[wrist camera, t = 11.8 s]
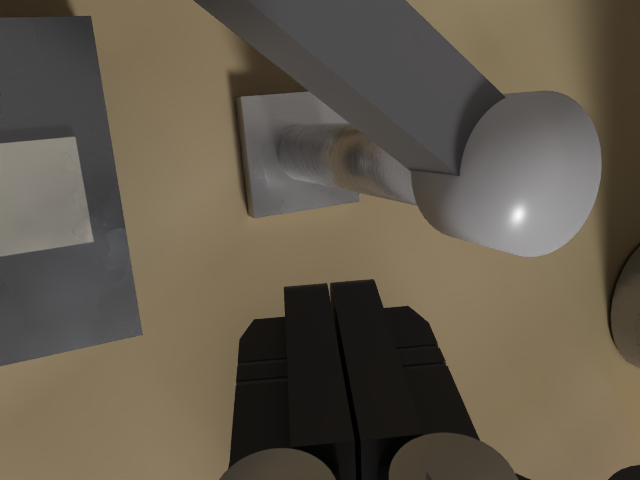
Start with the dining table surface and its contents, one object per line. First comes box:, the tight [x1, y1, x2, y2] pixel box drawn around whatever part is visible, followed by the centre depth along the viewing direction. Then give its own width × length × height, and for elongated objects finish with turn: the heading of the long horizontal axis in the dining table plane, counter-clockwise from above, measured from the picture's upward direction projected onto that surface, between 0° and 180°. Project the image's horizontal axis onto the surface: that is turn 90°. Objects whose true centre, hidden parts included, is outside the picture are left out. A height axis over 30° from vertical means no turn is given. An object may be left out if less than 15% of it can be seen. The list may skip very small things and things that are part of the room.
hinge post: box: [235, 92, 418, 218], centre depth 20 cm, size 5×5×12 cm
